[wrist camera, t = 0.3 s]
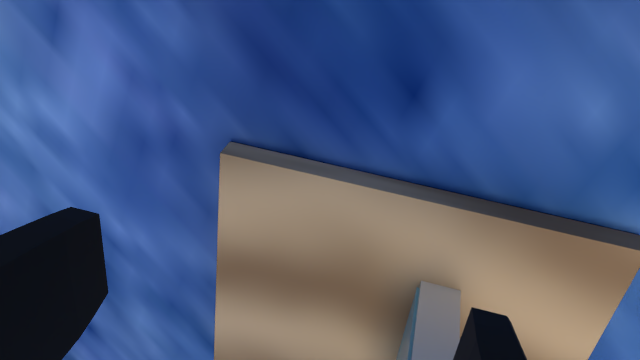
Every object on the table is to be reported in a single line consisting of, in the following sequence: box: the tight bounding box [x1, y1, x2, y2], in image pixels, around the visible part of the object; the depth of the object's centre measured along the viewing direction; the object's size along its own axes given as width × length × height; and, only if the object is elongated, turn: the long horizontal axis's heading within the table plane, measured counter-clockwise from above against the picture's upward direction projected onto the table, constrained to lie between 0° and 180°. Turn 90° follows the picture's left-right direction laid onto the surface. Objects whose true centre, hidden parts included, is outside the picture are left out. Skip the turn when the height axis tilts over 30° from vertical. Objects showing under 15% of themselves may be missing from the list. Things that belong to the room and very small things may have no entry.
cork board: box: [214, 142, 640, 360], centre depth 22 cm, size 12×15×1 cm
